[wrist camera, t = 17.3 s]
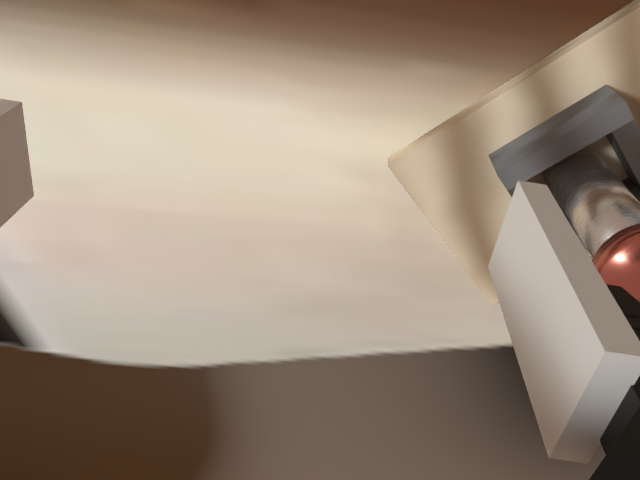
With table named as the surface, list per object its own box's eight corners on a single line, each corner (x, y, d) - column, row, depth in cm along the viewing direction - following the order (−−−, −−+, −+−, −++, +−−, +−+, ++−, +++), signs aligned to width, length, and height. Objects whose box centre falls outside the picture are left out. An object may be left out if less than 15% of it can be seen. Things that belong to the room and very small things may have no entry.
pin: (593, 118, 42) (690, 218, 30) (622, 177, 44) (722, 292, 32) (519, 158, 44) (582, 267, 32) (550, 213, 46) (620, 334, 34)
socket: (672, -25, 38) (711, -13, 34) (752, 162, 44) (793, 192, 40) (387, 158, 46) (389, 186, 42) (488, 295, 52) (499, 332, 48)
